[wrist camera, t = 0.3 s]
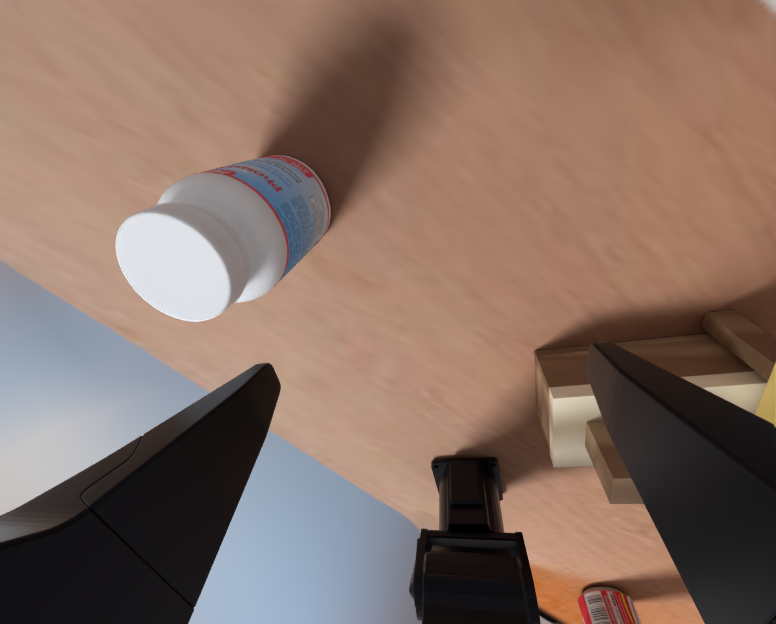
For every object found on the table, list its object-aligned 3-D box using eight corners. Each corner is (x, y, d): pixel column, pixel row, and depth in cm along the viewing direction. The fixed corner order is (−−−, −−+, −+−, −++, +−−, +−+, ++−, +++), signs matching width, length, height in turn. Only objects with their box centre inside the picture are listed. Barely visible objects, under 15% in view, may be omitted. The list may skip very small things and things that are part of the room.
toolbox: (726, 418, 26) (786, 481, 22) (537, 428, 29) (555, 485, 25) (765, 305, 21) (853, 356, 17) (533, 332, 25) (554, 381, 20)
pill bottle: (318, 145, 20) (207, 173, 10) (342, 242, 23) (272, 332, 13) (231, 162, 21) (59, 201, 12) (264, 252, 24) (149, 341, 15)
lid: (777, 447, 22) (858, 528, 18) (549, 455, 25) (572, 524, 21) (816, 366, 19) (927, 440, 14) (549, 387, 22) (575, 453, 18)
